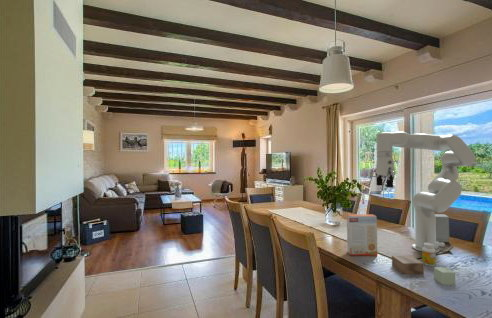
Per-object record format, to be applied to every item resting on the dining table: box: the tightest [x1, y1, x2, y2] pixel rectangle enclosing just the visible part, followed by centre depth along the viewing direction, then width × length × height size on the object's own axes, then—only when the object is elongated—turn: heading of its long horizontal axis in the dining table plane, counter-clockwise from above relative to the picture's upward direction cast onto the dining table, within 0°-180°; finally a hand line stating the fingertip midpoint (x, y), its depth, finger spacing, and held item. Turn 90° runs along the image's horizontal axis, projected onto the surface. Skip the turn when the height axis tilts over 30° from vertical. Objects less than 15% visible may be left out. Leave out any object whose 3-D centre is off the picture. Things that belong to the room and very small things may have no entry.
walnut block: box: [391, 255, 425, 275], centre depth 121 cm, size 9×9×5 cm
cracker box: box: [346, 213, 378, 257], centre depth 141 cm, size 14×6×21 cm, turn 84°
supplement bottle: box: [421, 243, 437, 267], centre depth 127 cm, size 5×5×10 cm
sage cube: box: [433, 266, 456, 286], centre depth 109 cm, size 5×5×5 cm
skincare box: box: [434, 213, 450, 243], centre depth 161 cm, size 8×7×16 cm
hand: (384, 186), depth 145 cm, fingers open, 9 cm apart
